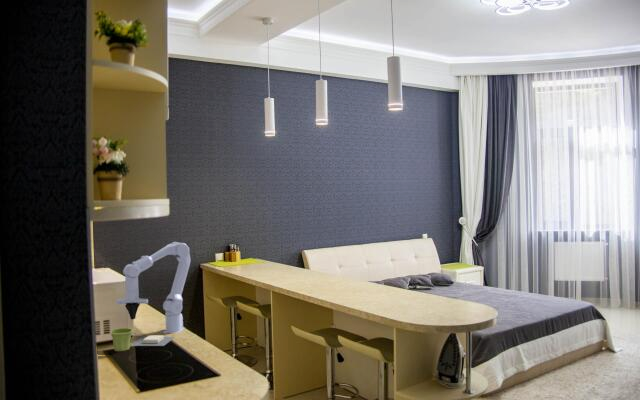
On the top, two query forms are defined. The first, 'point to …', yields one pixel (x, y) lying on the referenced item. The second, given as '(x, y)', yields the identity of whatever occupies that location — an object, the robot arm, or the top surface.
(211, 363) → the top surface
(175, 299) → the robot arm
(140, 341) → the mat
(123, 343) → the plant pot
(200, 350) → the top surface
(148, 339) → the tile
